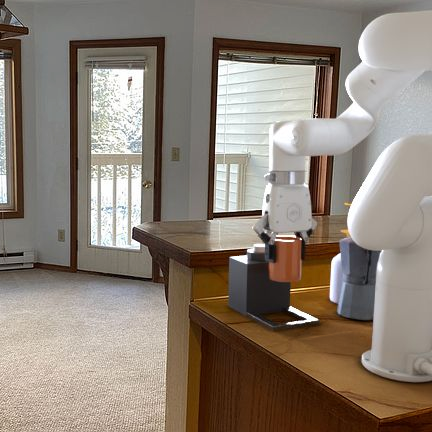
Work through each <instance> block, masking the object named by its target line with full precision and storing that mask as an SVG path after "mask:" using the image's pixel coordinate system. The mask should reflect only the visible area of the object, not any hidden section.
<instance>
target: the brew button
mask: <svg viewBox="0 0 432 432" xmlns="http://www.w3.org/2000/svg"><path fill="white" fill-rule="evenodd" d="M253 249H254V252H258V253H265V243H255V244H253Z"/></svg>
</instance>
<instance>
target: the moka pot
mask: <svg viewBox="0 0 432 432" xmlns="http://www.w3.org/2000/svg"><path fill="white" fill-rule="evenodd" d="M339 250H340V253H341V266H342V272H343V280H344V282H343V284H342V290H341V294H340V299H339V304H337V308H336V309H337V310H336V312H337V314H338V316H339V315H340V316H341V317H344V318H345V319H352V320H357V321H373V319H374V303H375V287H376V272H377V265H378V260H379V257H380V254H381V251H382V250H380V251H374V250H368V249H365V248H362V247H360V246H359V245H357V244H356V243H355V242H354V241H353V239H352V238H351V237H344V238H341V239H340V240H339Z"/></svg>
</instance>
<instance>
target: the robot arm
mask: <svg viewBox="0 0 432 432" xmlns="http://www.w3.org/2000/svg"><path fill="white" fill-rule="evenodd" d="M357 46H358V47H357V48H358V54H359V57H360V59H361V60H362V61H360V63H359V64H358V65H357V66H356V67H355V68H354V69H353V70H352V71H350V72H349V74H348V75H347V77H346V79H345V89H346V91H347V94H348V95H349V97H350V99H351V100H352V101H353V102H352V103H351V104H350V106H349V107H347V109H345V110H344V111H342V112H341V114H340V115H338V116H337V117H335V118H328V117H327V118H325V117H324V118H319V117H318V118H317V117H315V118H313V117H310V118H309V117H307V118H306V117H304V118H298V119H295V120H281V121H274V122H272V123H271V125H270V128H269V152H268V153H269V157H268V159H269V160H268V163H269V164H268V173H267V174H265V175H264V181H267V182H268V185H266V187H265V191H264V195H263V204H262V214H261V215H262V216H261V218H259V219H258V221H256V223H255V224H254V225H253V226H252V229H253V231H254V232H255V233H256V235H257V237H258V238H259V239H260V240H261V241H262V244H265V260H266V261H267V262H270V263H275V262H276V245H274V242H275V240H276V237H277V236H279V234H287V233H293V234H294V236H295V237H300V238H302V258H301V261H305V260H306V252H307V251H306V248H307V247H306V246H307V243H308V242H309V240H310V239H309V238H310V237H311V235H312V234H313V232H314V231H315V229H316V228H317V226H318V222H317V221H316V219H314V218H313V217H312V216H313V215H312V200H311V194H310V189H309V185H306V157H317V156H318V157H319V156H320V157H321V156H339V155H342V154H344V153H347V152H349V151H351V150H352V149H354V148H355V147H356V146H357V145H358V144H360V143H361V142H362V141H363V140H364V139H366V138H367V137H368V136H369V135H370V134H371V133H372V132H373V131H374V129H375V128H376V126H377V124H378V122H379V120H380V117H381V114H382V109H383V108H384V107H385V106H386V105H387V104H388V103H389V102H391V101H392V100H393V99H395V97H396V96H398V95H399V94H400V93H401V92H403V90H405V89H406V88H407V87H409V85H411V84H412V83H414V82H415V80H416V79H418V78H420V76H422V75H423V74H424V73H425V72H426V71H428V72H432V9H431V10H429V9H428V10H417V11H405V12H403V11H402V12H389V13H385V14H382V15H380V16H378V17H376V18H375V19H373V20H372V21H370V23H368V24H367V26H366V27H365V28H364V30H363V31H362V33H361V35H360V38H359V40H358V45H357ZM351 204H352V205H351V207H350V208H349V210H348V213H347V221H346V223H347V230H348V231H349V234H350V236H351V238H352V239H353V241H354V242H355V243H356V244H357V245H359V246H360V247H362V248H365V249H368V250H374V251H380V250H382V251H381V254H380V257H379V260H378V265H377V272H376V287H375V303H374V319H373V320H372V321H373V322H372V337H371V349H369V350H367V351H365V352H363V353H362V355H361V364H362V366H363V367H364V368H365V369H367V370H368V371H369V372H371V373H373V374H375V375H377V376H380V377H383V378H386V379H389V380H394V381H399V382H405V383H426V382H427V383H428V382H431V381H432V131H431V132H429V133H426V134H410V135H405V136H402V137H400V138H397V139H396V140H394V141H393V142H392V143H390V144H389V145H388V146H387V147H386V148H385V149H384V150H383V151H382V152H381V153H380V155H379V157H378V158H377V160H376V161H375V163H374V165H373V167H372V168H371V170H370V172H369V173H368V175H367V177H366V178H365V180H364V182H363V183H362V186H361V187H360V189H359V191H358V192H357V194H356V196H355V197H354V199H353V201H352V203H351Z"/></svg>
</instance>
